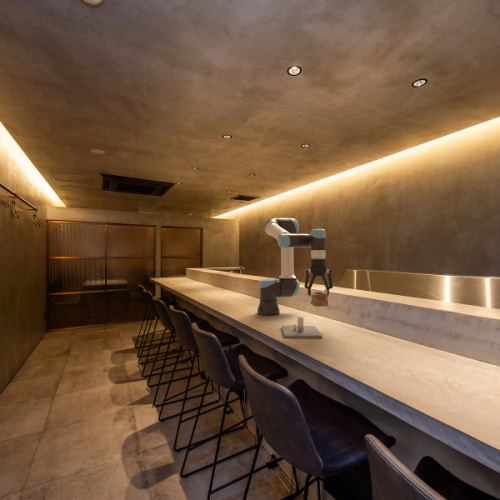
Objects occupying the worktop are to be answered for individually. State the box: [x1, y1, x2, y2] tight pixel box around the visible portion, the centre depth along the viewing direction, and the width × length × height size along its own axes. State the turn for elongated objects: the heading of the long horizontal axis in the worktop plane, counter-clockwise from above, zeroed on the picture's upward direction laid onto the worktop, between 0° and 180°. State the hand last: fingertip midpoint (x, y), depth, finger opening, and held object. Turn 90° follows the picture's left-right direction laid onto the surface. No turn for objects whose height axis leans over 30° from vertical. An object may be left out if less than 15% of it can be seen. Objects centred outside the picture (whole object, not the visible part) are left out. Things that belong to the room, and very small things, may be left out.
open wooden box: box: [309, 291, 329, 307], centre depth 153 cm, size 10×7×6 cm
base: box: [281, 316, 323, 339], centre depth 148 cm, size 18×18×8 cm
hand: (318, 301), depth 153 cm, fingers closed on open wooden box, 7 cm apart
